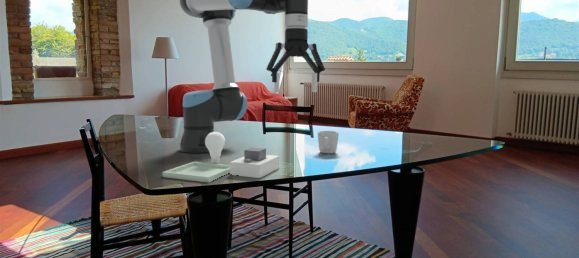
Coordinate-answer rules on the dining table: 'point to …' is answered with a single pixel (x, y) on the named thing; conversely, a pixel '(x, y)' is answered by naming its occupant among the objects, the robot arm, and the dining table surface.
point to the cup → (327, 141)
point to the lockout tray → (198, 171)
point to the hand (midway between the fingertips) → (295, 92)
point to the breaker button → (255, 154)
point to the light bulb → (215, 145)
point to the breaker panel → (254, 166)
